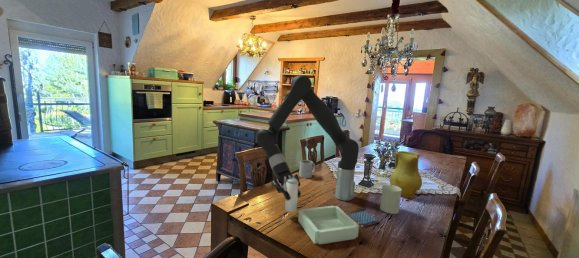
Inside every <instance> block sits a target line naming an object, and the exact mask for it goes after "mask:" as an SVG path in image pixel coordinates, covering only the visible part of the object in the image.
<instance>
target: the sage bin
mask: <svg viewBox="0 0 579 258" xmlns="http://www.w3.org/2000/svg"><path fill="white" fill-rule="evenodd" d="M298 223H299V224H300V226H301V227H302V228H303V230H304V231H305V233H306V234H307V236H308V237H309V238H310V239H311V241H312V243H313V244H316V245H317V244H318V245H324V244H326V245H327V244H331V243H337V242H344V241H350V240H356V238H358V237H359V228H360V226H359V225H360V224H357V223H356V222H354V221H353V220H352V219H351V218H350V217H349V216H348V214H347V213H346V212H345V211H343V209H341V208H340V207H339V206H337V205H336V206H335V205H328V206H318V207H311V208H310V207H309V208H301V209H300V210H298Z"/></svg>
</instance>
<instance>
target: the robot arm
mask: <svg viewBox="0 0 579 258" xmlns="http://www.w3.org/2000/svg"><path fill="white" fill-rule="evenodd" d="M290 87H291V89H290V91H289V92H288V94H287V96H286V97H285V99H284V100H283V101H282V102H281V103H280V104H279V106H278V107H277V108H276V109H275V110H274V112H273V114H272V115H271V116H270V118H269V120H268V123H267V124H268V125H269V127H268V129H265V128H262V129H259V130H258V131H257V133H256V141H257V142H258V145H259V147H261V149H262V150H263V152H264V153H265V154H266V158H267V159H268V160H267V161H269V162H268V163H269V166H270V168H271V170H272V172H273V175H274V176H275V179H273V181H272V185H273V187H274V188H275V189H276V191H277V193H278V194H282V195H283V197H284V199H285V200H287V201H288V200H290V199H291V198H290V196H289V193H288V191H287V188H286V181H287V180H288V179H289V178H295V179H297V181H298V198H300V197H301V195H302V194H301V191H300V186H301V182H300V178H299V174H296V173H295V174H292V173H291V169H290V167H289V165H288V163H287V161H286V158H285V156H284V155H283V153H282V152H281V149H280V148H279V146H278V145H277V144H275V141H276V140H277V138H278V137H279V136H278V135H279V133H280V130H281V128H282V126H283V125H284V123H286V120H287V119H288V118H289V116H290V115H291V113H292V112H293V111H294V109H295V107H296V106H297V105H298V103H299V102H300V101H301V100H302V102H303V103H304V104H305V105H306V107H307V109H308V110H309V112H310V113H311V115H312V116H313V118H314V119H315V120H316V122H317V123H318V124H319V126H320V127H321V128H322V129H323V130H324V131H325V133H326V134H327V135H328V136H329V137H330V138H331V140H332V141H333V143H334V145H335V147H336V148H337V150H338V151H339V152H340V153H341V156H340V157H341V159H340V160H339V161H338V162H337V170H336V180H335V181H336V182H335V192H334V193H335V195H334V197H335V198H336V199H338V200H340V201H345V202H348V201H352V199H353V200H354V199H355V198H354V197H355V188H356V181H354V180H355V172H356V166H357V163H358V159H359V150H360V149H359V147H360V146H359V144H358V142H357V141H356V140H354V139H353V138H351V137H349V136H348V135H347V134H346V133H345V132H344V131H343V129H342V128H341V126H340V123H339V120H338V118H337V117H336V115H335V114H334V112H333V111H332V110H331V108H330V107H329V105H327V104H326V103H325V101H323V100H322V99H321V98H320V97H319V96H318V95H317V94H316V93H315V91H314V90H313V88H312V81H311V78H310V77H309V76H307V75H302V74H301V75H300V74H298V75H296V76H294V77H293V78H292V79H291V81H290Z"/></svg>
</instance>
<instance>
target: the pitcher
mask: <svg viewBox="0 0 579 258" xmlns="http://www.w3.org/2000/svg"><path fill="white" fill-rule="evenodd" d="M420 156H421V154H420V153H417V152H412V151H405V150H398V151H396V152H395V157H394V159H395V161H394V165H395V167H394V168H395V169H394V170H393V171H392V173H391V174H390V178H389V179H390V180H389V185H394V186H397V187H399V188H401V189H402V191H401V198H406V199H413V198H415V197H416V195H415V194H416V193H417V191H419V190H421V188H422V186H423V185H422V184H423V180H422V177H421V174H420V173H419V171H420V170H419V159H420Z"/></svg>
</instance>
